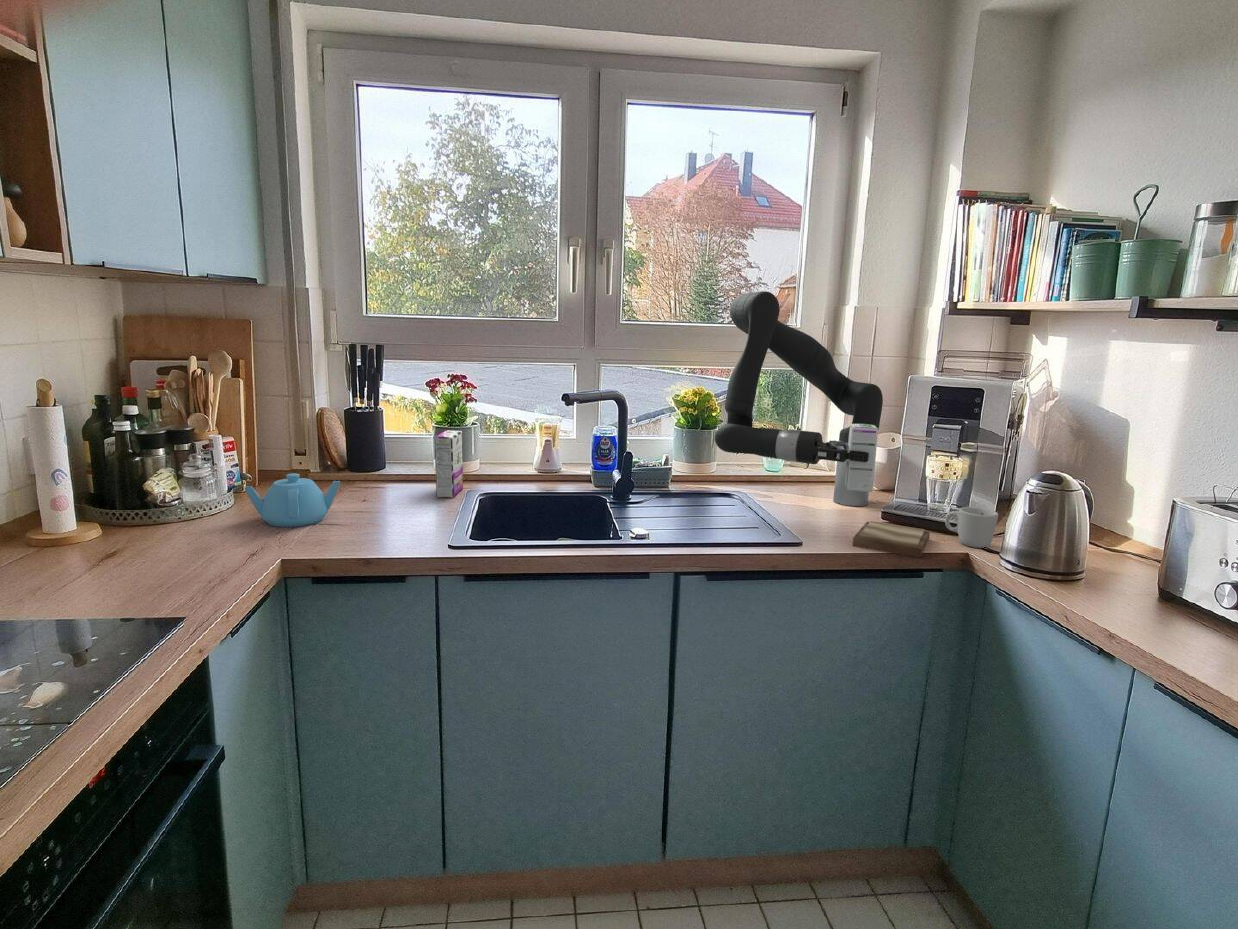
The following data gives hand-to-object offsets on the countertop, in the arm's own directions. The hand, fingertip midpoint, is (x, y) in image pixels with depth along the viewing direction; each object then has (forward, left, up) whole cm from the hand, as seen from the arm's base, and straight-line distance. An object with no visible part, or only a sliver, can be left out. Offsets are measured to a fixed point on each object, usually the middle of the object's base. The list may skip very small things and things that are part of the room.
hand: (871, 454), depth 159 cm
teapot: (+63, -114, -20) cm, 132 cm away
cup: (-11, +21, -20) cm, 31 cm away
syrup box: (0, -2, -8) cm, 8 cm away
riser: (-1, +6, -20) cm, 21 cm away
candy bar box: (+23, -104, -20) cm, 108 cm away
